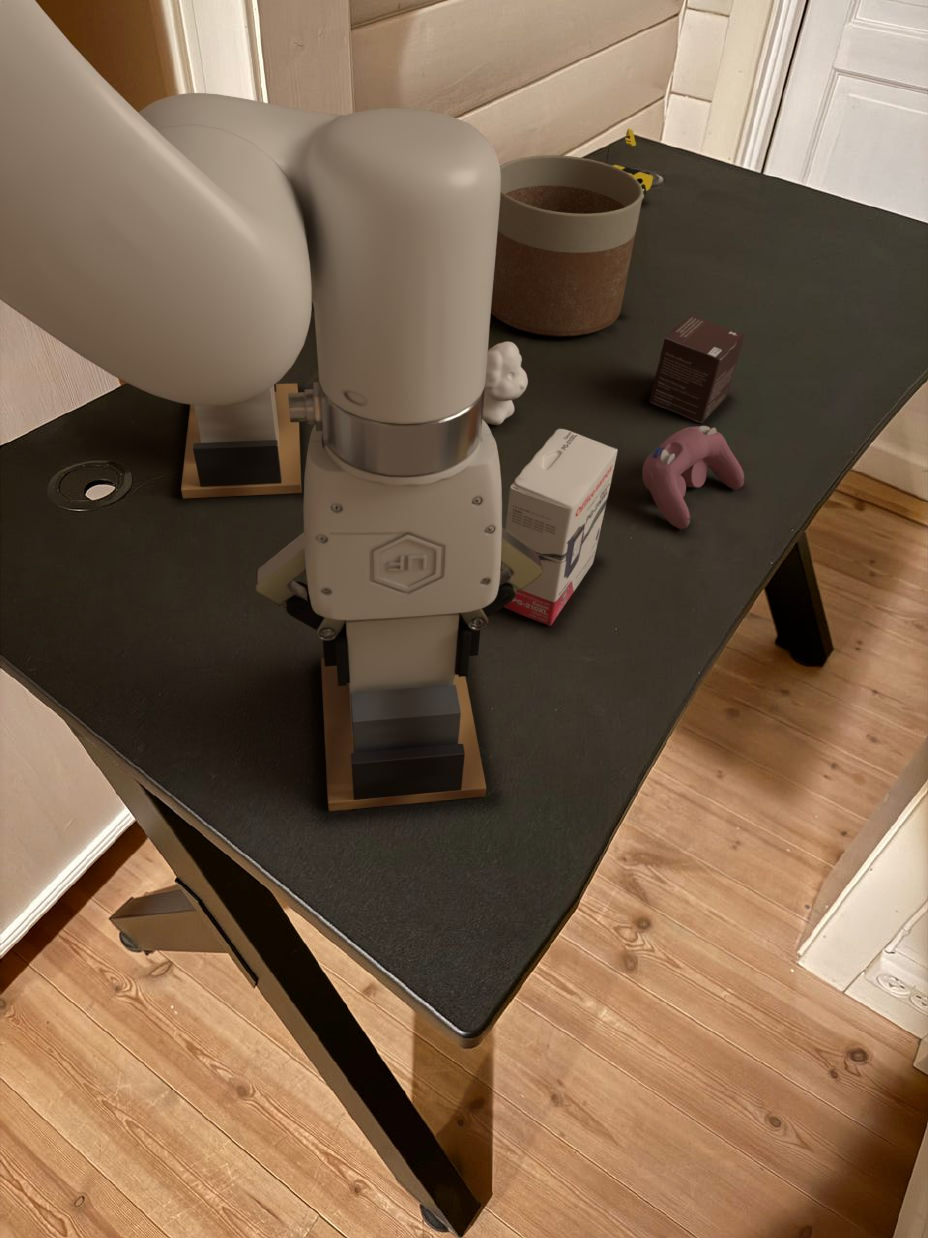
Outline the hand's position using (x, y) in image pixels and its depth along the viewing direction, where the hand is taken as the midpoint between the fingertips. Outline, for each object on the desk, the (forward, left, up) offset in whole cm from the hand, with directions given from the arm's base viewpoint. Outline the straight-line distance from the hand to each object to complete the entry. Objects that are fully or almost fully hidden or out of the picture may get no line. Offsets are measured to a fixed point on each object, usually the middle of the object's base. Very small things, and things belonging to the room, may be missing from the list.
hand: (401, 661), depth 55 cm
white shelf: (-11, +35, -8) cm, 38 cm away
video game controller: (+28, +24, -8) cm, 38 cm away
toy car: (+38, +88, -8) cm, 96 cm away
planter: (+23, +59, -8) cm, 64 cm away
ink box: (+13, +14, -8) cm, 21 cm away
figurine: (+12, +38, -8) cm, 41 cm away
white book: (0, 0, -7) cm, 7 cm away
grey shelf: (0, +1, -8) cm, 8 cm away
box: (+33, +39, -8) cm, 52 cm away
